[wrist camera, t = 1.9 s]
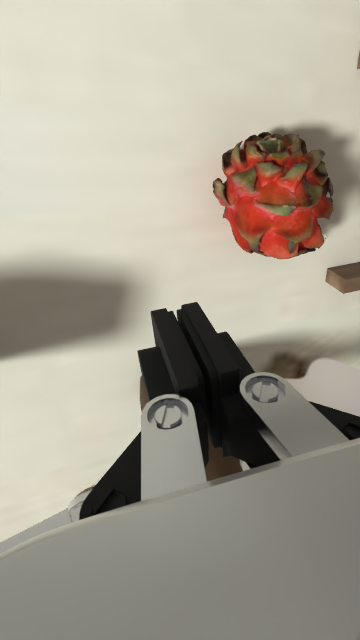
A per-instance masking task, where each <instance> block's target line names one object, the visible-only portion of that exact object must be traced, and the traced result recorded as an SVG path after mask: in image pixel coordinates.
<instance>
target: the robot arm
mask: <svg viewBox="0 0 360 640" xmlns="http://www.w3.org/2000/svg"><path fill="white" fill-rule="evenodd" d="M151 318H152V325H153V331H154V338H155V344H156V347H152V348H148V349H143V350H139V351H138V357H139V362H140V367H141V372H142V377H143V382H144V386H145V391H146V395H147V399H148V403H147V404H146V406H145V407H144V409H143V411H142V415H141V432H140V433H139V434H138V435H137V436H136V438H135V439H134V440H133V441H132V442H131V444H130V445H129V446H128V447H127V448H126V450H125V451H124V452H123V453H122V454H121V456H120V457H119V458H118V459H117V460H116V462H115V463H114V464H113V465H112V466H111V468H110V469H109V470H108V471H107V472H106V474H105V475H104V476H103V477H102V478H101V480H100V481H99V482H98V483H97V484H96V486H95V487H94V488H93V489H92V491H91V492H90V493H89V494H88V495H87V497H86V499H85V500H84V502H83V503H82V506H81V507H79V508H77V509H75V510H73V511H71V512H69V510H68V508H67V509H65V510H63V511H61V512H59V513H58V514H56V515H54V516H52V517H50V518H48V519H46V520H44V521H42V522H40V523H38V524H36V525H34V526H32V527H30V528H28V529H26V530H24V531H22V532H20V533H18V534H16V535H14V536H12V537H10V538H9V539H7V540H5V541H3V542H1V543H0V640H360V417H359V416H355V415H352V414H349V413H346V412H342V411H339V410H336V409H333V408H329V407H326V406H323V405H320V404H316V403H313V402H309V401H307V400H306V399H305V398H304V397H303V396H302V395H301V394H300V393H299V392H298V391H297V390H296V389H295V388H293V386H292V385H291V384H289V383H288V382H287V381H286V380H285V379H284V378H282V377H281V376H278V375H276V374H273V373H268V372H257V373H255V372H254V370H253V369H252V367H251V366H250V364H249V363H248V362H247V360H246V359H245V357H244V356H243V354H242V353H241V351H240V350H239V348H238V347H237V346H236V344H235V343H234V341H233V340H232V338H231V337H230V335H229V334H228V333H227V332H222V333H217V332H216V331H215V329H214V328H213V326H212V325H211V323H210V321H209V320H208V318H207V317H206V315H205V313H204V312H203V310H202V309H201V307H200V306H199V304H198V303H197V302H194V303H189V304H184V305H182V308H181V309H179V310H177V319H178V321H177V319H176V317H175V315H174V313H173V311H169V312H168V311H167V309H166V308H164V309H159V310H154V311H151ZM208 436H209V439H210V441H211V444H212V446H213V448H214V449H215V448H220V451H221V453H222V455H223V457H227V456H233V457H235V458H237V459H240V465H241V467H242V469H243V471H242V472H238V473H235V474H231V475H228V476H225V477H221V478H218V479H214V480H211V481H207V480H206V474H205V467H206V466H207V464H208V462H209V451H208V450H209V439H208Z"/></svg>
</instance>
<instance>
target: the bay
mask: <svg viewBox="0 0 360 640" xmlns="http://www.w3.org/2000/svg"><path fill="white" fill-rule="evenodd" d="M357 69H360V53H359V60H358V67H357ZM326 282H327V283H329V284H330V285H332V286H333V287H334V288H336V289H337V290H339V291H340V292H342V293H343V294H344V293H348V292H353V291H358V290H360V262H359V263H354V264H348V265H343V266H338V267H333V268H328V269H327V275H326Z"/></svg>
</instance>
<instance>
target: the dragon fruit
mask: <svg viewBox="0 0 360 640" xmlns="http://www.w3.org/2000/svg"><path fill="white" fill-rule="evenodd" d="M241 143H242V141H241V142H240V143H239V144H237V145H236V147H235V148H234V149H232V150H229V151H227V152H226V153H224V154H223V155H222V166H223V172H224V174H225V175H226V176H227V181H226V182H225V183H222V181H221V179H219V178H217V179H216V180H215V181H214V182H213V188H214V190H213V193H214V194H215V196H216V197H217V199H218V200H219V202H220V204H221V205H222V206H226V207H225V212H224V214H223V218H226V219H227V220H228V221H229V222H230V224H231V227H232V232H233V235H234V237H235V240H236V242H237V243H238V244H239V246H240V247H241V248H242V249H243V250H245V251H246V252H249V253H253V252H255V253H258V254H262V255H264V256H268V257H269V256H270V257H274V258H277V259H289V258H292V257H295V256H299V255H300V254H304V253H307V252H312V251H315V250H316V249H315V248H320V247H321V246H322V245H323V243H324V237H323V235H322V233H321V228H320V225H319V224H318V222H317V218H323V217H325V218H327V219H329V218H330V215H331V213H332V211H333V204H332V202H333V200H332V198H331V197H330V198H329V199H328V198H327V197H326V194H327V192H328V191H329V193H330V196H332V195H333V185H332V183H331V181H330V178H329V177H328V178H327V176H328V173H327V171H326V168H325V163H324V162H323V161H321V160H322V158H323V156H324V154H325V153H324V151H322V150H313V151H311V152H310V153H308V154H307V150H306V144H305V141H303V140H302V139H299V135H295V134H289V135H285V136H280V135H278V134H277V135H276V134H273V135H271V134H270V133H268V132H266V133H265V132H263V133H261V134H259V135H258V136H256V135H253V136H250V137H249V138H248V139H246V140H245V142H244V150H240V145H241ZM326 179H327V180H326ZM325 180H326V181H325ZM326 238H327V237H326ZM326 238H325V239H326Z"/></svg>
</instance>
